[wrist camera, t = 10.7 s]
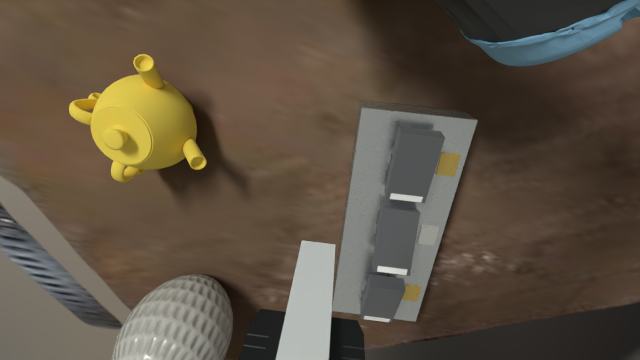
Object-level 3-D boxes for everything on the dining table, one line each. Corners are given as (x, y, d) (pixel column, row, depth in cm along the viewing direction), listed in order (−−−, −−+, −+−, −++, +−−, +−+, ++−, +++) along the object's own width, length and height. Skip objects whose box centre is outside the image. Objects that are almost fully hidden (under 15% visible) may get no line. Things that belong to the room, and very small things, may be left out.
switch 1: (398, 126, 37) (400, 133, 35) (440, 131, 37) (445, 138, 35) (384, 190, 42) (385, 198, 40) (421, 194, 42) (425, 203, 40)
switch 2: (380, 204, 44) (382, 207, 42) (416, 208, 43) (420, 212, 41) (371, 265, 45) (373, 271, 43) (406, 269, 45) (410, 276, 43)
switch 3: (369, 274, 46) (369, 287, 44) (403, 278, 46) (405, 291, 44) (360, 306, 52) (360, 318, 50) (390, 310, 51) (391, 322, 50)
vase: (208, 240, 55) (127, 359, 35) (264, 301, 60) (221, 436, 40) (145, 275, 59) (41, 399, 39) (202, 330, 64) (136, 463, 44)
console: (360, 100, 43) (362, 108, 38) (463, 111, 42) (479, 121, 37) (333, 288, 57) (331, 313, 52) (410, 298, 57) (416, 325, 52)
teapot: (229, 146, 47) (197, 176, 37) (154, 172, 50) (105, 206, 40) (181, 49, 42) (129, 52, 32) (101, 84, 45) (29, 97, 35)
